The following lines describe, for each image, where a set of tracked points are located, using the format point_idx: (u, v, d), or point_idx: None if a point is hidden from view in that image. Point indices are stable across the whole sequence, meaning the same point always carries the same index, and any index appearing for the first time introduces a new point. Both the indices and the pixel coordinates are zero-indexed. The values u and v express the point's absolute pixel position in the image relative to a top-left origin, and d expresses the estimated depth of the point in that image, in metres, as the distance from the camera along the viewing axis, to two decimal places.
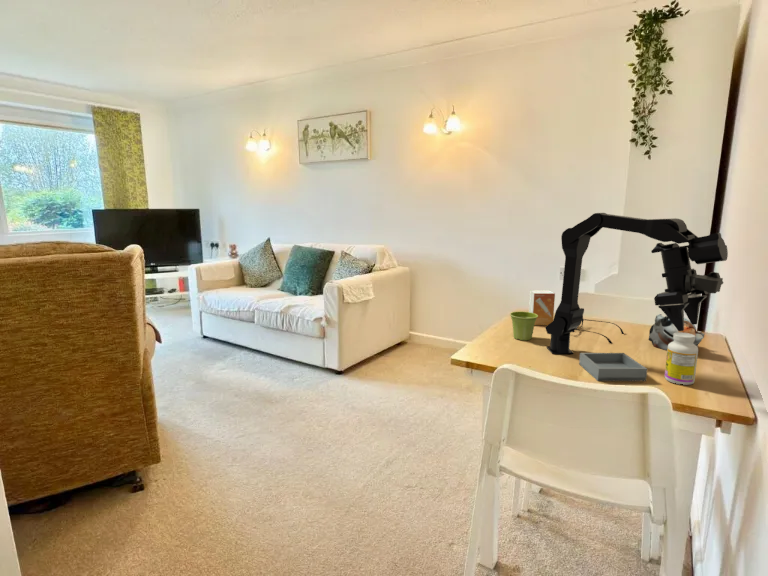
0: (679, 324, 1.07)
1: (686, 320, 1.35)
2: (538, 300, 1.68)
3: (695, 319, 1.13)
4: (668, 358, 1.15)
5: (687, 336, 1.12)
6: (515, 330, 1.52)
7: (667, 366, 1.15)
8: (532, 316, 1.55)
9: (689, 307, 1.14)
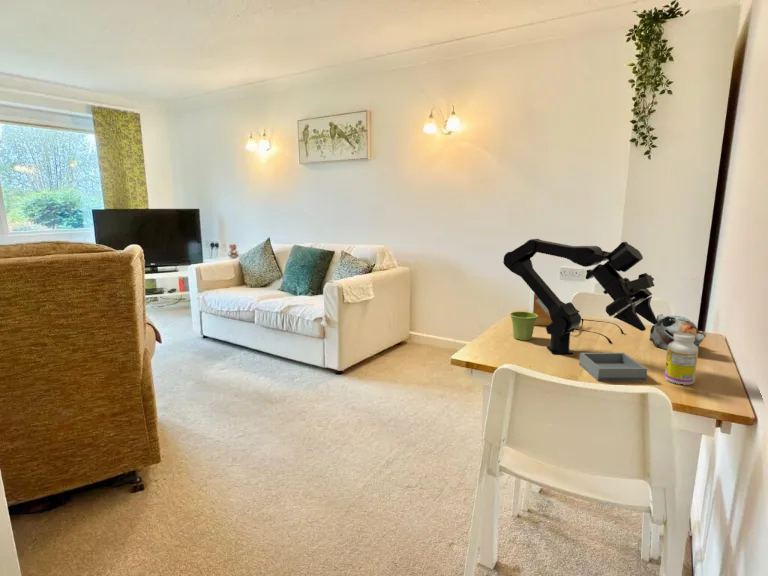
0: (639, 324, 1.16)
1: (687, 320, 1.35)
2: (538, 300, 1.68)
3: (653, 319, 1.22)
4: (668, 358, 1.15)
5: (687, 336, 1.12)
6: (515, 330, 1.52)
7: (667, 366, 1.15)
8: (532, 316, 1.55)
9: (643, 311, 1.24)
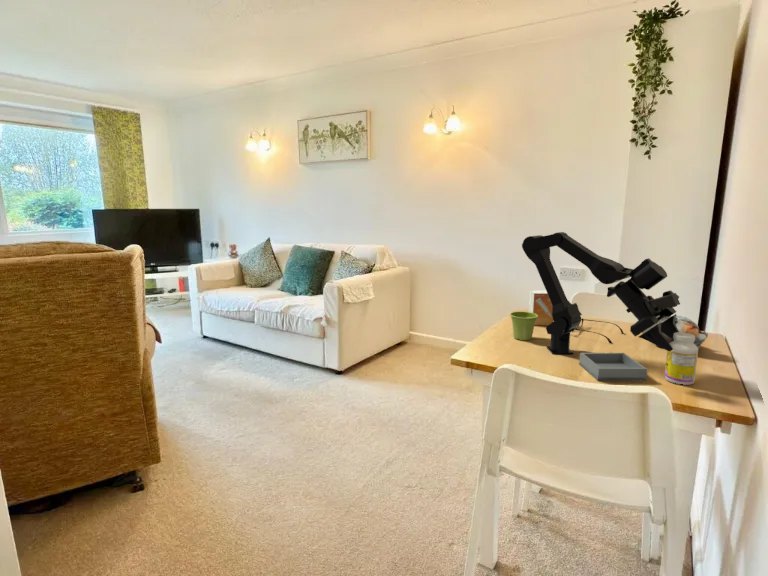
0: (665, 345, 1.12)
1: (689, 320, 1.35)
2: (538, 300, 1.68)
3: None
4: (668, 358, 1.15)
5: (687, 336, 1.12)
6: (515, 330, 1.52)
7: (667, 366, 1.15)
8: (532, 316, 1.55)
9: (668, 330, 1.20)
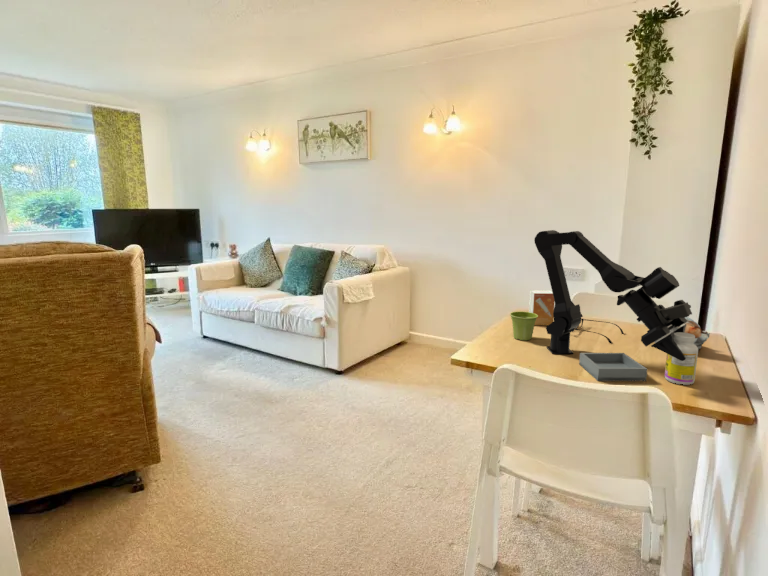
0: (678, 354, 1.11)
1: (691, 320, 1.35)
2: (538, 300, 1.68)
3: None
4: (668, 358, 1.15)
5: (687, 336, 1.12)
6: (515, 330, 1.52)
7: (667, 366, 1.15)
8: (532, 316, 1.55)
9: None
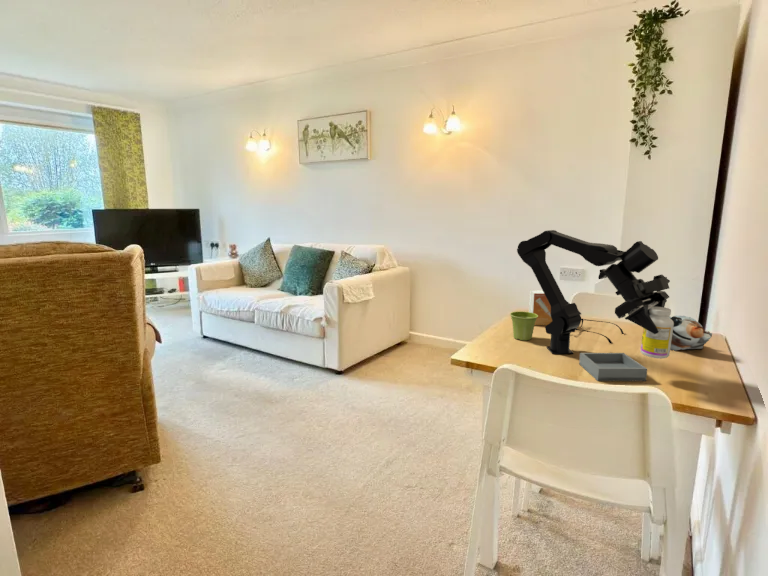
0: (651, 327, 1.12)
1: (693, 320, 1.35)
2: (538, 300, 1.68)
3: None
4: (643, 331, 1.16)
5: (662, 310, 1.12)
6: (515, 330, 1.52)
7: (642, 339, 1.16)
8: (532, 316, 1.55)
9: None
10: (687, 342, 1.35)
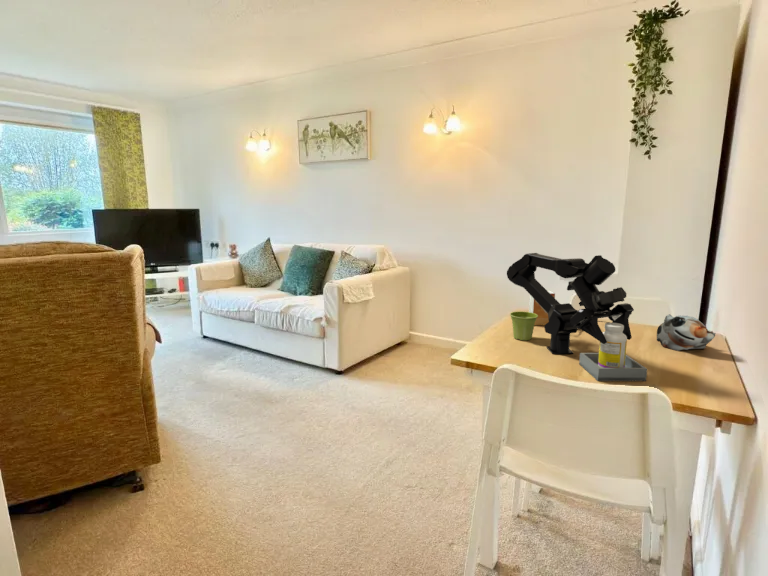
0: (600, 337, 1.18)
1: (696, 320, 1.35)
2: None
3: (628, 334, 1.21)
4: (599, 346, 1.22)
5: (614, 326, 1.18)
6: (515, 330, 1.52)
7: None
8: (532, 316, 1.55)
9: None
10: (690, 342, 1.35)
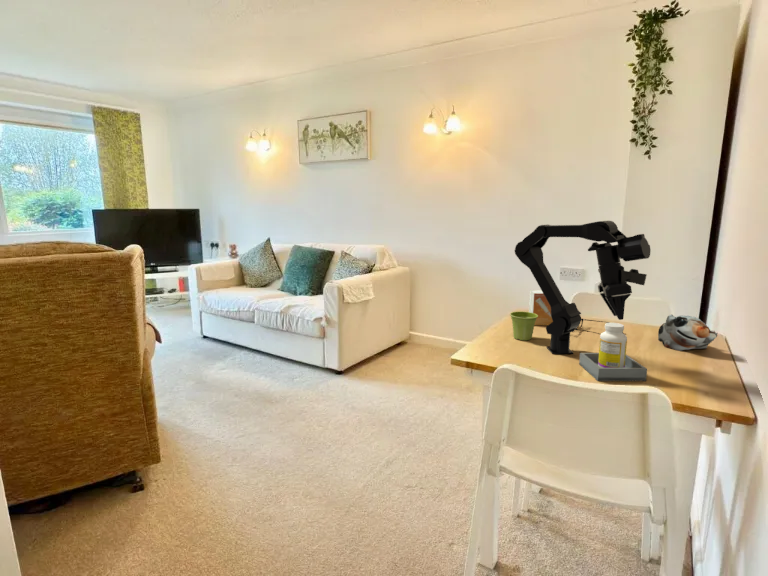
0: (621, 313, 1.20)
1: (699, 320, 1.35)
2: (538, 300, 1.68)
3: None
4: (599, 346, 1.22)
5: (614, 326, 1.18)
6: (515, 330, 1.52)
7: None
8: (532, 316, 1.55)
9: None
10: (693, 342, 1.35)
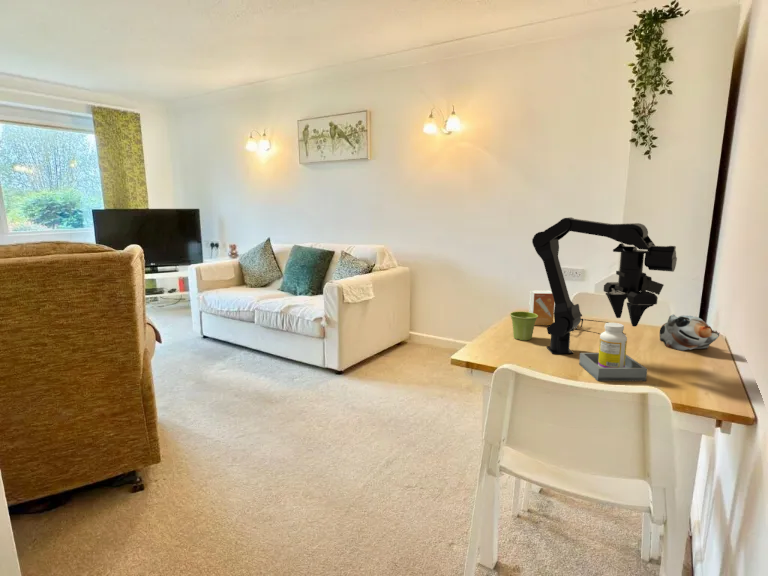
0: (636, 320, 1.20)
1: (700, 320, 1.35)
2: (538, 300, 1.68)
3: (620, 313, 1.29)
4: (599, 346, 1.22)
5: (614, 326, 1.18)
6: (515, 330, 1.52)
7: None
8: (532, 316, 1.55)
9: (617, 303, 1.29)
10: (695, 342, 1.35)
